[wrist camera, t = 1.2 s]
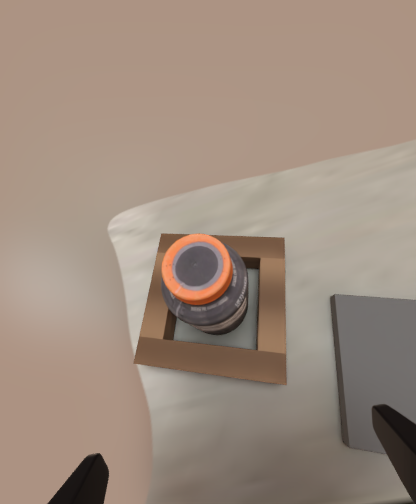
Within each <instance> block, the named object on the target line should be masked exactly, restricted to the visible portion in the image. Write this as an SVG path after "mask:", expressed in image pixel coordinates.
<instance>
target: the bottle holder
mask: <svg viewBox="0 0 416 504" xmlns="http://www.w3.org/2000/svg"><path fill="white" fill-rule="evenodd" d="M187 235H189V234H161V238H160V242H159V247H158V252H157V256H156V261H155V266H154V270H153V275H152V280H151V284H150V289H149V294H148V298H147V303H146V308H145V312H144V317H143V322H142V326H141V331H140V336H139V341H138V345H137V350H136V355H135V359H134V364H141V365H148V366H155V367H162V368H169V369H176V370H183V371H190V372H198V373H205V374H212V375H219V376H226V377H233V378H240V379H247V380H254V381H261V382H269V383H276V384H283V385H286V315H285V244H284V238H275V237H246V236H218V235H209V236H212V237H214V238H216V239H217V240H219V241H220V242H223V243H225V244H227V245H228V246H230V247H231V248H233V249H234V250H235V251H236V252H237V253H238V254H239V255H240V257H241V258H242V260H243V262H244V264H245V266H246V268H255V269H259V280H258V312H257V344H256V350H250V349H241V348H233V347H225V346H216V345H208V344H199V343H191V342H182V341H174V340H173V337H174V330H175V324H176V318H177V317H176V316H175V315H174V314H173V313H172V312H171V311H170V310H169V308H168V307H167V305H166V303H165V301H164V298H163V295H162V291H161V278H162V261H163V258H164V256H165V254H166V252H167V250H168V249H169V248H170V247H171V245H172V244H174V243H175V242H176V241H177V240H179V239H181V238H183V237H185V236H187Z"/></svg>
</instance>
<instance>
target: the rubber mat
mask: <svg viewBox="0 0 416 504" xmlns="http://www.w3.org/2000/svg"><path fill="white" fill-rule="evenodd" d="M330 299H331V310H332V321H333V332H334V344H335V355H336V366H337V378H338V389H339V400H340V411H341V423H342V434H343V442H344V443H345V444H346V445H347V446H348V447H349V448H354V449H360V450H366V451H371V452H377V453H382V454H386V452H385V450H384V448H383V446H382V444H381V443H380V441H379V439H378V437H377V435H376V433H375V431H374V429H373V425H372V406H373V405H378V404H387V405H389V406H390V407H392V408H393V409H395V410H396V411H398V412H399V413H401V414H402V415H404V416H405V417H406V418H408V419H409V420H411V421H412V422H414V423H415V424H416V300H408V299H394V298H380V297H367V296H353V295H339V294H334V295H333V296H331V297H330Z"/></svg>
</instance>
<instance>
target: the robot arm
mask: <svg viewBox="0 0 416 504" xmlns="http://www.w3.org/2000/svg"><path fill="white" fill-rule="evenodd" d="M372 425H373V429H374V431H375V433H376V435H377V437H378V439H379V441H380V443H381V444H382V446H383V448H384V450H385V452H386V454H387V455H388V457H389V459H390V461H391V463H392V465H393V466H394V468H395V470H396V472H397V474H398V476H399V477H400V479H401V481H402V483H403V485H404V486H405V488H406V490H407V492H408V494H409V495H410V497H411V499H412V500H413V502H414V504H416V424H415V423H414V422H412V421H411V420H409V419H408V418H406V417H405V416H404V415H402V414H401V413H399V412H398V411H396V410H395V409H393V408H392V407H390V406H389V405H387V404H378V405H373V406H372ZM108 478H109V470H108V467H107V465H106V463H105V461H104V459H103V457H102V455H101V454H100V453H96V454H91V455H88V456H87V457H86V458H85V459H84V460H83V461H82V462H81V463H80V465H79V466H78V467H77V468H76V470H75V471H74V472H73V473H72V475H71V476H70V477H69V478H68V479H67V481H66V482H65V483H64V484H63V485H62V487H61V488H60V489H59V490H58V491H57V493H56V494H55V495H54V497H53V498H52V499H51V500H50V501H49V503H48V504H104V499H105V494H106V489H107V484H108Z"/></svg>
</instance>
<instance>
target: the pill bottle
mask: <svg viewBox="0 0 416 504" xmlns="http://www.w3.org/2000/svg"><path fill="white" fill-rule="evenodd" d="M161 291H162V295H163V298H164V301H165V303H166V305H167V307H168V308H169V310H170V311H171V312H172V313H173V314H174V315H175V316H176V317H178V318H179V319H180V320H182V321H184V322H186V323H188V324H189V325H191V326H193V327H195V328H197V329H199V330H201V331H203V332H205V333H208V334H213V335H221V334H225V333H228V332H230V331H232V330H234V329H235V328H237V327H238V326H239V325H240V324H241V322H242V321H243V319H244V317H245V315H246V312H247V308H248V273H247V269H246V266H245V264H244V262H243V260H242V258H241V257H240V255H239V254H238V253H237V252H236V251H235V250H234V249H233V248H231V247H230V246H228V245H227V244H225V243H223V242H220V241H219V240H217V239H216V238H214V237H212V236H209V235H206V234H191V235H187V236H185V237H183V238H181V239H179V240H177V241H176V242H175V243H174V244H172V245H171V247H170V248H169V249H168V250H167V252H166V254H165V256H164V258H163V261H162V278H161Z"/></svg>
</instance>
